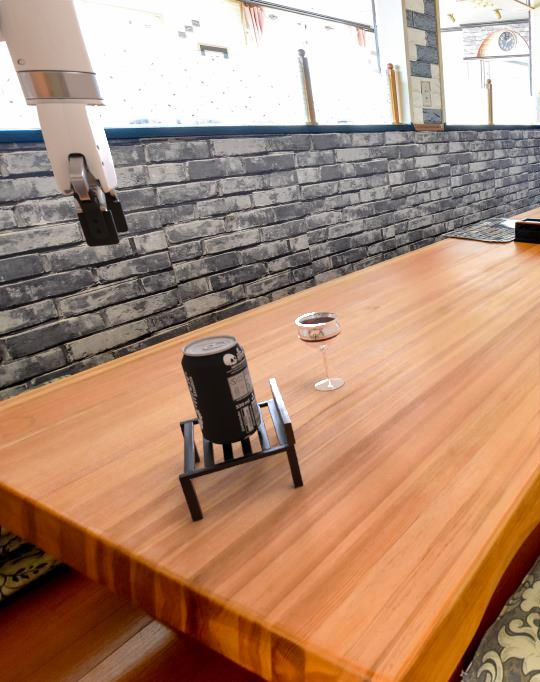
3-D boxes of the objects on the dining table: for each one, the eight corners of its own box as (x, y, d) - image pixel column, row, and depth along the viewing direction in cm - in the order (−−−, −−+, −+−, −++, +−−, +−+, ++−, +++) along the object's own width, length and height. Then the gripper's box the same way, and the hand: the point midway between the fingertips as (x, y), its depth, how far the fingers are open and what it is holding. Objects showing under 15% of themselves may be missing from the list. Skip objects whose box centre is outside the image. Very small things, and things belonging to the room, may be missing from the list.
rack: (193, 521, 60) (170, 455, 56) (191, 460, 71) (173, 401, 68) (305, 485, 65) (291, 422, 62) (287, 433, 77) (274, 377, 73)
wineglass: (358, 378, 93) (347, 313, 88) (332, 395, 87) (319, 327, 82) (327, 373, 95) (315, 310, 91) (300, 389, 89) (286, 323, 85)
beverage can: (199, 431, 66) (172, 343, 62) (254, 413, 70) (232, 329, 66) (211, 454, 62) (183, 360, 57) (269, 433, 66) (247, 344, 61)
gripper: (42, 96, 67) (86, 231, 73) (-1, 86, 53) (59, 255, 59) (113, 96, 70) (149, 226, 77) (91, 87, 56) (138, 246, 63)
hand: (110, 238), depth 68 cm, fingers open, 9 cm apart
